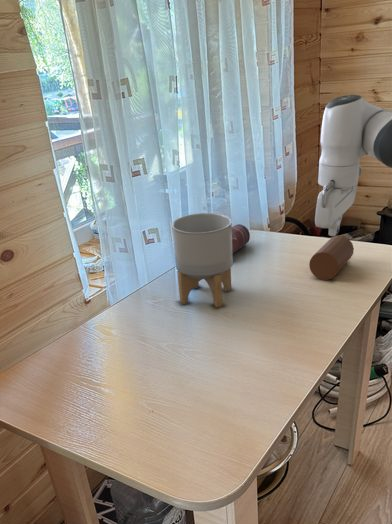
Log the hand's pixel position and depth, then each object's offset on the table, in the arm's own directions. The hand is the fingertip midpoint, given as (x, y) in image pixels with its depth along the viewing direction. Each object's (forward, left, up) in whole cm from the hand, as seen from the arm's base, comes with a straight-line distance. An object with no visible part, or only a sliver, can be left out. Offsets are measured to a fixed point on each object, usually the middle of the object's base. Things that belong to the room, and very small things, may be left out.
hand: (333, 233), depth 124 cm
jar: (0, +7, -6) cm, 9 cm away
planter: (+22, +25, -10) cm, 35 cm away
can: (+29, -8, -6) cm, 30 cm away
